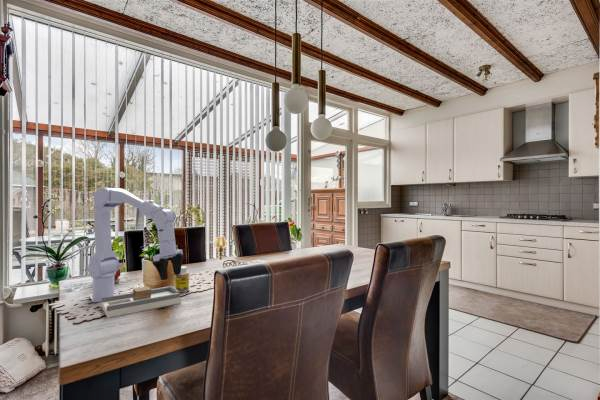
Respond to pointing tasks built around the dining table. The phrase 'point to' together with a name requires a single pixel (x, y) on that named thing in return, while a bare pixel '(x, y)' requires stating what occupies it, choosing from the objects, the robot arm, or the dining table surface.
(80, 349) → the dining table surface
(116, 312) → the deck
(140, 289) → the block
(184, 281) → the supplement bottle
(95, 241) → the robot arm
